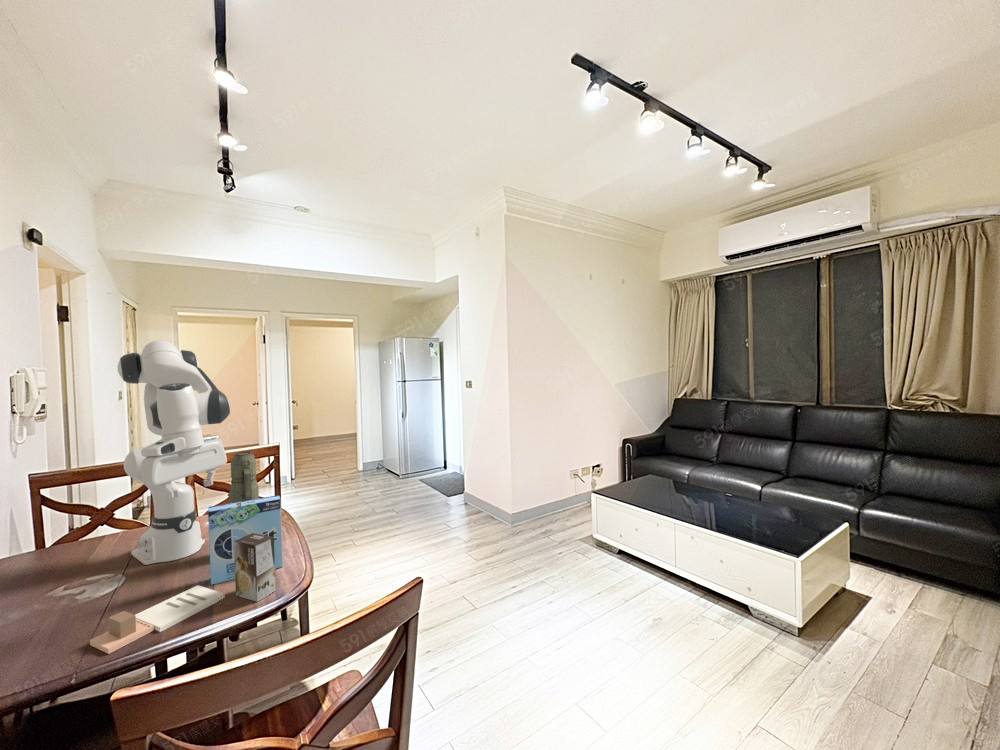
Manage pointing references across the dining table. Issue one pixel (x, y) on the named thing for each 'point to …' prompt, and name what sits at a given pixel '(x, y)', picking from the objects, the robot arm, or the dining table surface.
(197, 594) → the ticket
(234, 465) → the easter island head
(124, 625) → the peach base with block
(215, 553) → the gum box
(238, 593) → the coffee box
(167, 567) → the dining table surface
